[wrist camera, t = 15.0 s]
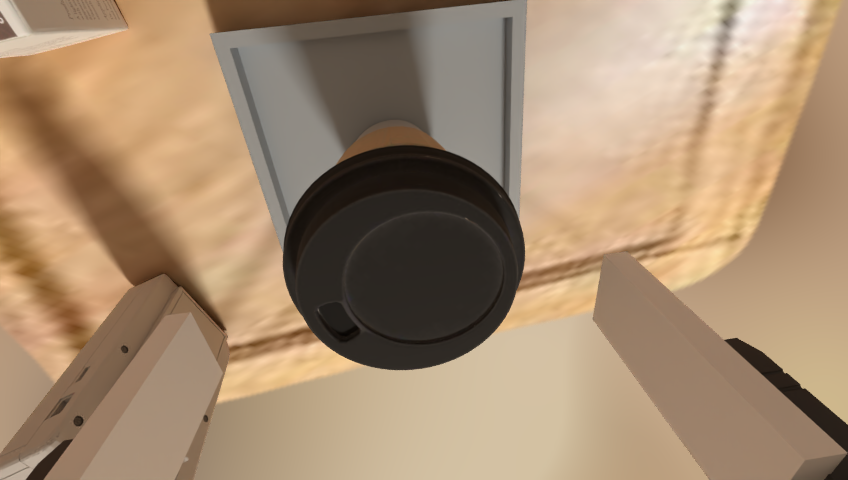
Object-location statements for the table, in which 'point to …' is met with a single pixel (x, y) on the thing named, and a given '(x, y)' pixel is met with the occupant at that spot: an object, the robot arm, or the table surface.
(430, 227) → the coffee cup
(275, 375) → the table surface
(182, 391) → the robot arm
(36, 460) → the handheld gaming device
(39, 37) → the skincare box
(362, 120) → the grey tray
